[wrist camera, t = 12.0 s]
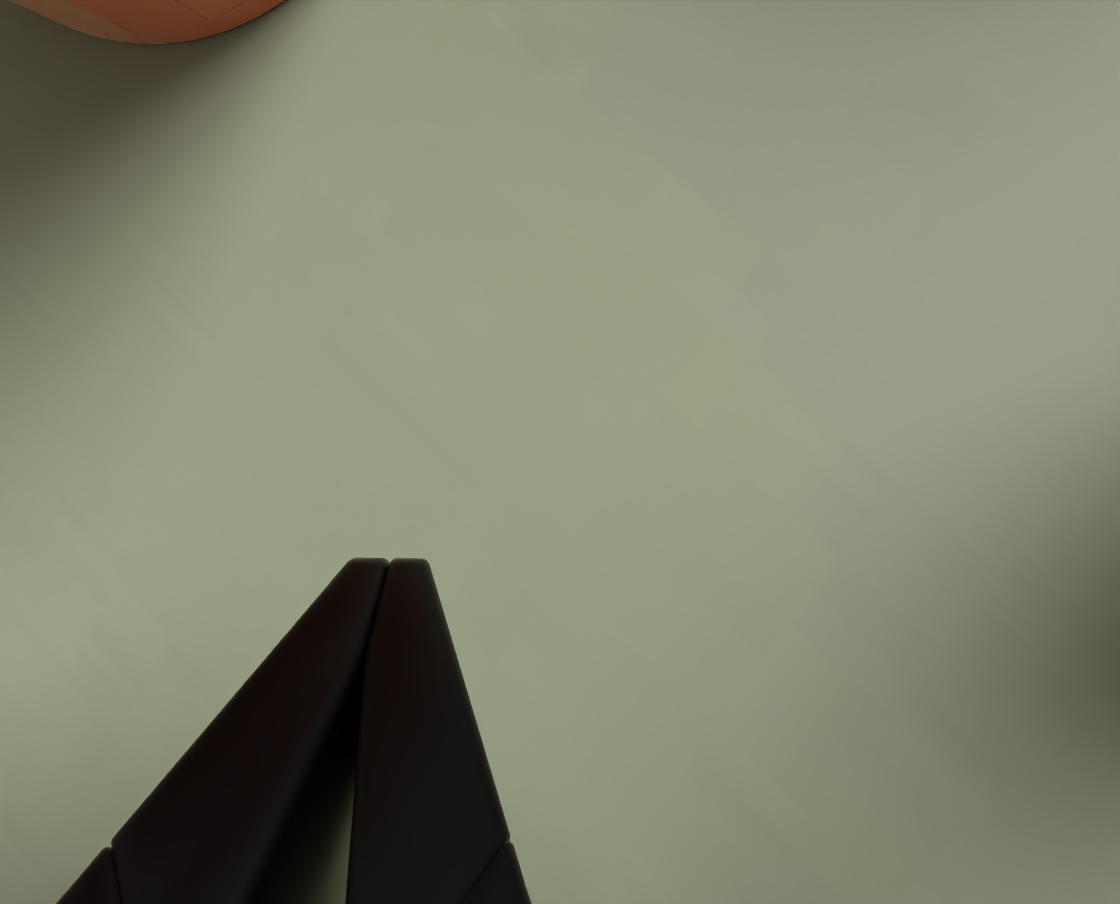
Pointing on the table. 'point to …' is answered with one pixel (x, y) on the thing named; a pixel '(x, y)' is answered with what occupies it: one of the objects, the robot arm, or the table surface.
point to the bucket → (150, 17)
